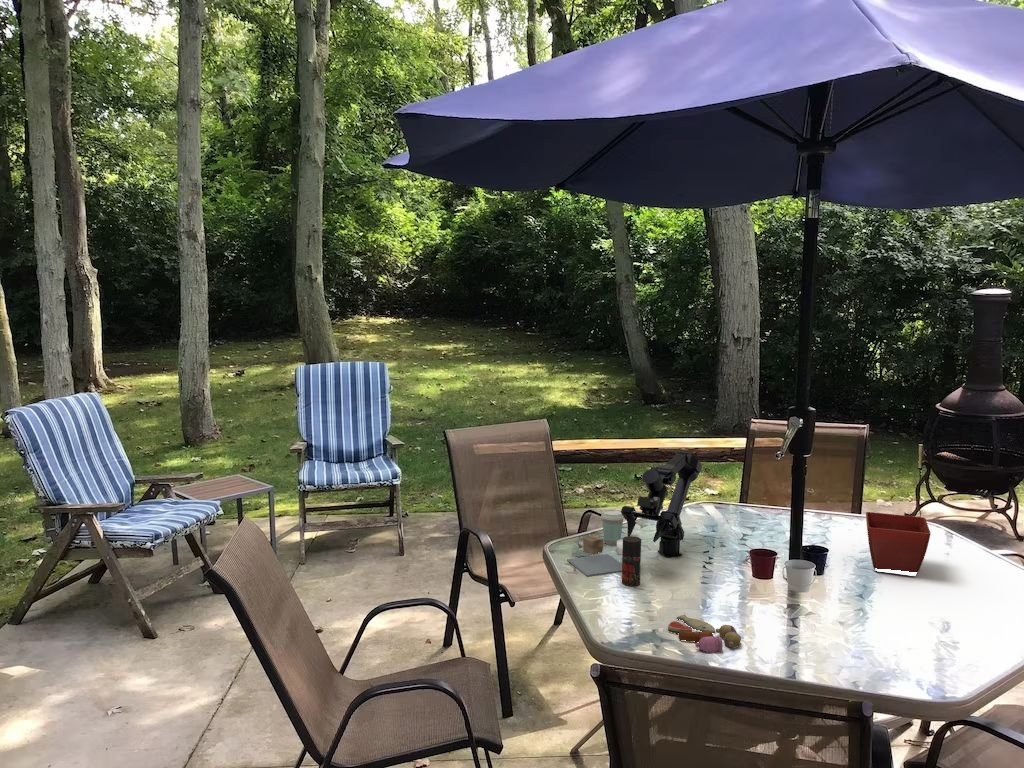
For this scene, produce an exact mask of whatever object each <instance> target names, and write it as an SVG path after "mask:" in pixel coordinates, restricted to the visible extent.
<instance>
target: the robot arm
mask: <svg viewBox="0 0 1024 768" xmlns="http://www.w3.org/2000/svg"><path fill="white" fill-rule="evenodd" d="M702 467H703V466H702V463H701V461H700V460H699V459H698V458H696V457H694V456H693V455H692V454H691V453H689V452H687V451H686V452H685V451H680V450H679V451H676V452H675V455H674V456H673V457H672V458H671V459H669V461H667V462H666V463H665V464H659V465H656V466H655V467H654V466H651V467H650V468H649V469H647V470H645V471H644V472H643V473H642V475H641V477H642V481H643V484H644V486H645V487H646V489H647V490H648V493H647V496H642V495H639V496H638V497H637V498H638V499H637V503H636V506H637V507H639V510H640V511H637V510H636V508H635V507H634V506H630V505H624V506H622V507H621V509H620V511H621V513H622V515H623V517H624V520H626V521H627V536H632V533H633V531H634V529H635V526H636V523H637V519H645V520H647V521H648V520H649V521H654V522H656V524H655V530H656V531H655V533H654V536H653V539H652V542H654V543H656V542H657V541H658V540H659V539H660V540H659V543H658V544H659V546H658V547H659V550H657V553H659V554H661V555H662V556H664V557H665V558H673V557H678V556H679V557H680V556H683V554H682V553H681V552H680V550H681V549H680V548H681V547H680V546H681V541H683V540H684V538H685V530H684V528H683V526H682V520H681V513H682V510H683V507H684V505H685V504H684V503H685V501H686V498H687V495H688V492H689V489H690V487H691V484H692V483H693V482H694V481H695V480H697V479H698V477H699V474H700V473H701V472H702ZM677 474H678V478H677ZM676 480H677V481H676ZM675 482H676V484H675V487H674V490H673V493H672V495H671V498H670V501H669V504H668V507H667V509H666V510H664V506H663V505H664V502H665V498H666V496H668V495H669V492H668V488H667V486H672V485H673V484H674V483H675ZM666 485H667V486H666Z"/></svg>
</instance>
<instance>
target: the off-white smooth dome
mask: <svg viewBox="0 0 1024 768" xmlns="http://www.w3.org/2000/svg"><path fill="white" fill-rule="evenodd" d="M622 550H623V538H621V539H619V540H617V545H616V553H617V554H618V555H620V554H621V556H622Z"/></svg>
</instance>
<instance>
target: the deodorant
mask: <svg viewBox="0 0 1024 768" xmlns="http://www.w3.org/2000/svg"><path fill="white" fill-rule="evenodd" d="M622 539H623V550H622V555H621V556H622V559H621V560H622V561H621V564H622V572H621V585H623V586H624V587H631V588H634V587H635V588H636V587H639V586H640V584H641V564H642V563H641V561H642V560H641V559H642V558H641V557H642V539H641V538H640V537H639V536H634V535H630V536H628V535H626V536H624V537H623V538H622Z"/></svg>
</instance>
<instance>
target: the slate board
mask: <svg viewBox="0 0 1024 768" xmlns="http://www.w3.org/2000/svg"><path fill="white" fill-rule="evenodd" d="M568 561H569V562H570V565H572V566H573V567H575V568H576V569H577V570H578V571H579V572H580V573H582V574H583V575H584V576H585V577H587V578H588V577H595V575H596V576H603V575H609V574H608V573H611V574H617V573H616V572H618V573H622V562H620V561H619V560H617V559H615V557H613V556H611V555H610V554H608V553H605V554H598V555H597V554H595V555H588V556H581V557H574V558H573V557H572V558H567V562H568ZM569 562H568V563H569ZM602 574H603V575H602Z"/></svg>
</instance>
